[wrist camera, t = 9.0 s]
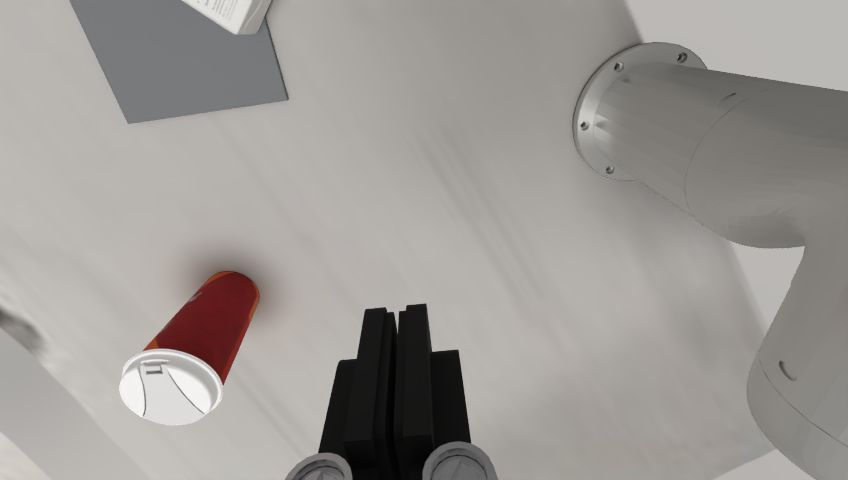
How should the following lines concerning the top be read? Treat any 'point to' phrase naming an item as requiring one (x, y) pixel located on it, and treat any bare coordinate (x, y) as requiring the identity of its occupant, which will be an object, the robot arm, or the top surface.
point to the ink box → (233, 13)
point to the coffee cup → (191, 353)
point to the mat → (177, 59)
